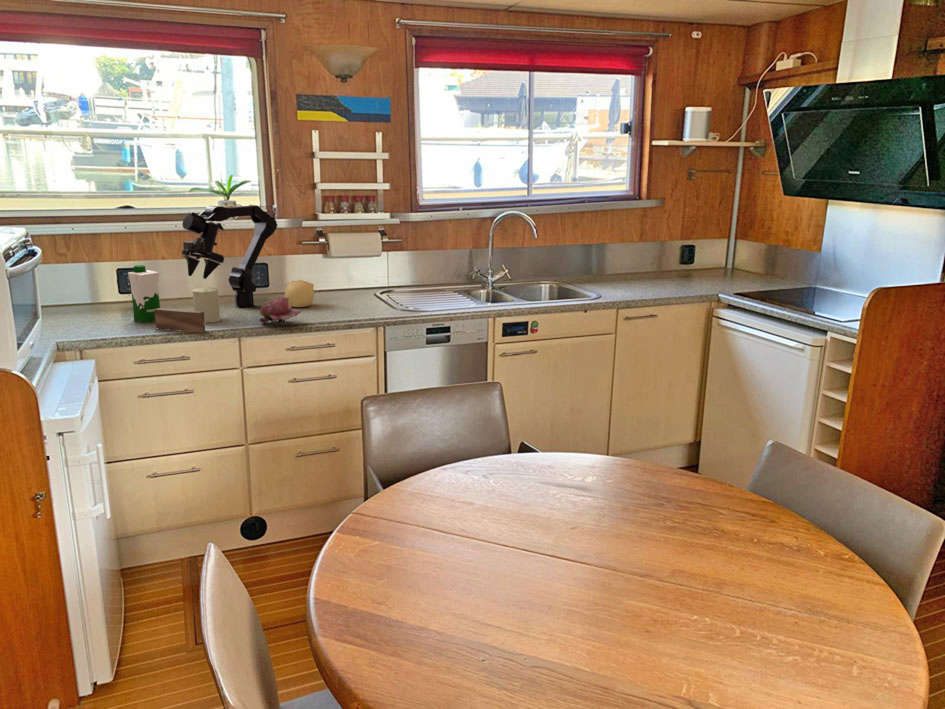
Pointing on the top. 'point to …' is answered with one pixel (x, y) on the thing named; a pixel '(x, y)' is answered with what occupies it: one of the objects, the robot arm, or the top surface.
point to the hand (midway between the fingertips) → (196, 277)
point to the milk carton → (144, 293)
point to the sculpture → (299, 293)
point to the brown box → (180, 320)
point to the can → (207, 303)
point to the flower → (277, 311)
